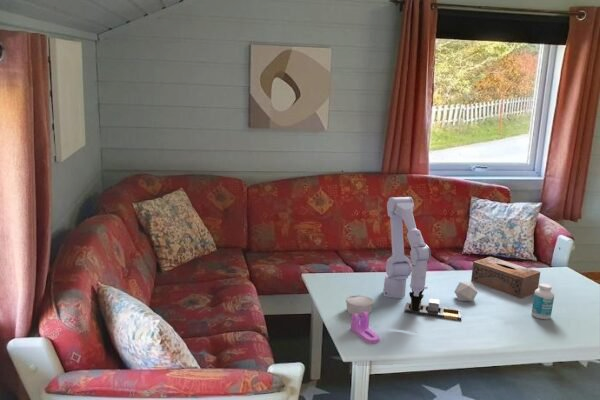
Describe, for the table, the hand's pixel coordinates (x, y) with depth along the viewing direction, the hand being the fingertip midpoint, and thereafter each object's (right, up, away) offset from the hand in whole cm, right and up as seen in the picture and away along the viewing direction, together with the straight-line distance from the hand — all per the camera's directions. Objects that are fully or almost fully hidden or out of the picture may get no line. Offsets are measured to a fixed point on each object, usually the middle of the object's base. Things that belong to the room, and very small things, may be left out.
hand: (415, 306), depth 224 cm
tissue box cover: (+48, +3, +34) cm, 59 cm away
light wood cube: (0, -2, 0) cm, 2 cm away
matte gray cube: (+7, -2, -1) cm, 7 cm away
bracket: (-23, -7, -22) cm, 32 cm away
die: (+24, 0, +14) cm, 28 cm away
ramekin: (-23, -2, -1) cm, 24 cm away
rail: (+7, -3, -1) cm, 7 cm away
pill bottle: (+52, -4, +1) cm, 52 cm away
